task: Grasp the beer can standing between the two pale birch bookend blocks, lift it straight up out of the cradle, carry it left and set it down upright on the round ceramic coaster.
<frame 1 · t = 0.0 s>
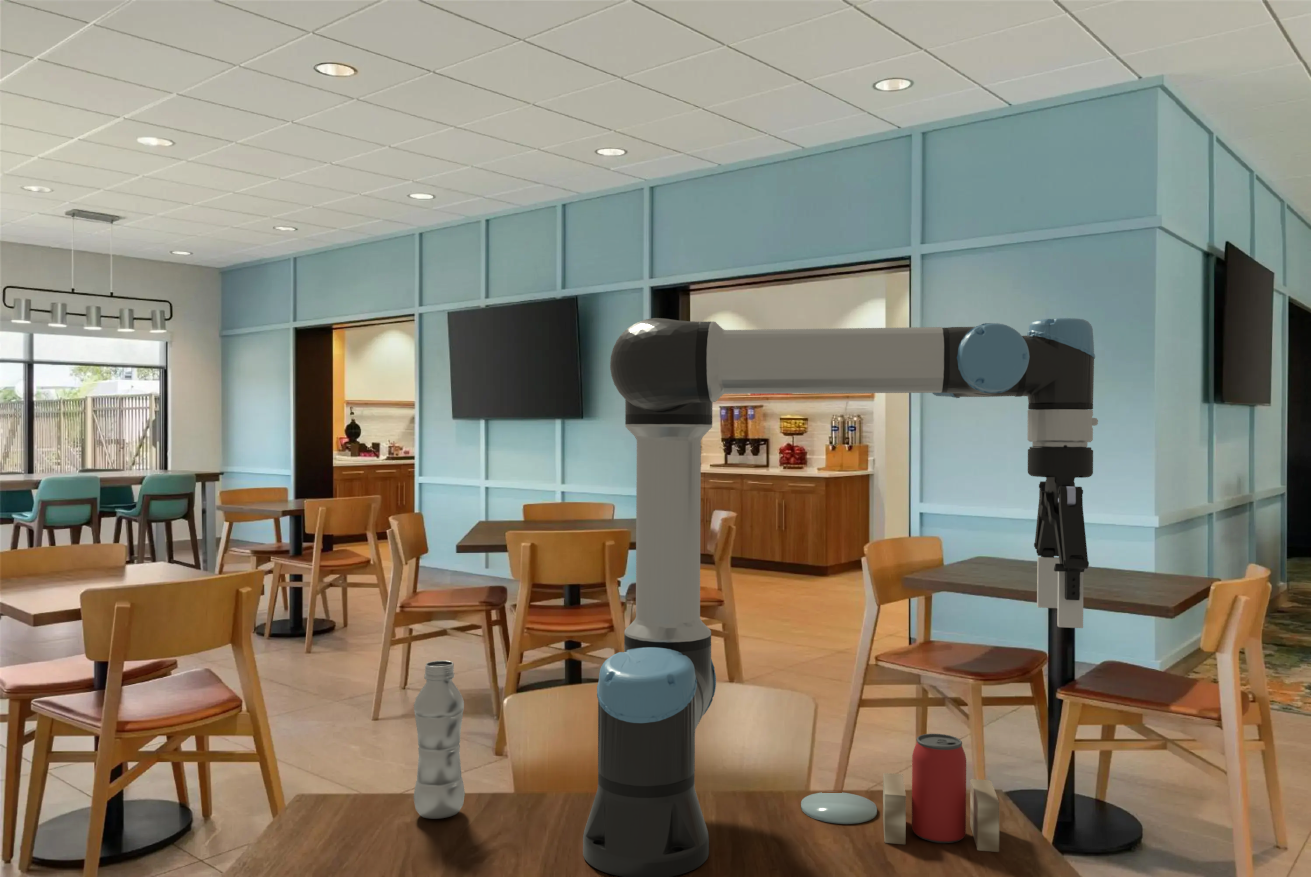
hand: (1058, 617, 126), 28 cm above the table, fingers open, 13 cm apart
coaster: (838, 809, 137), on the table
cradle: (938, 834, 128), on the table
beer can: (938, 836, 128), on the table
plastic bottle: (439, 817, 134), on the table
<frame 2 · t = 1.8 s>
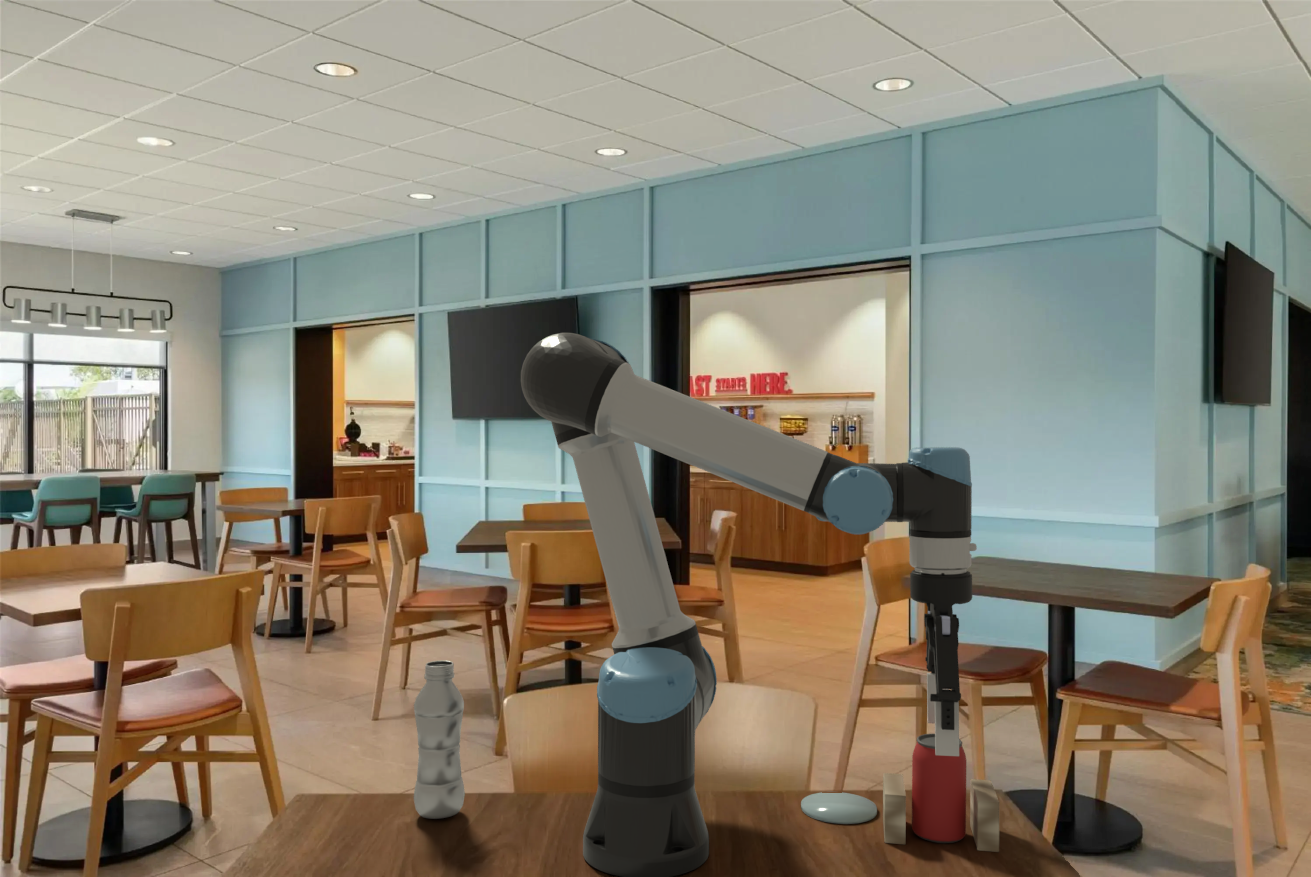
hand: (942, 738, 128), 12 cm above the table, fingers open, 13 cm apart
nothing on the table moved.
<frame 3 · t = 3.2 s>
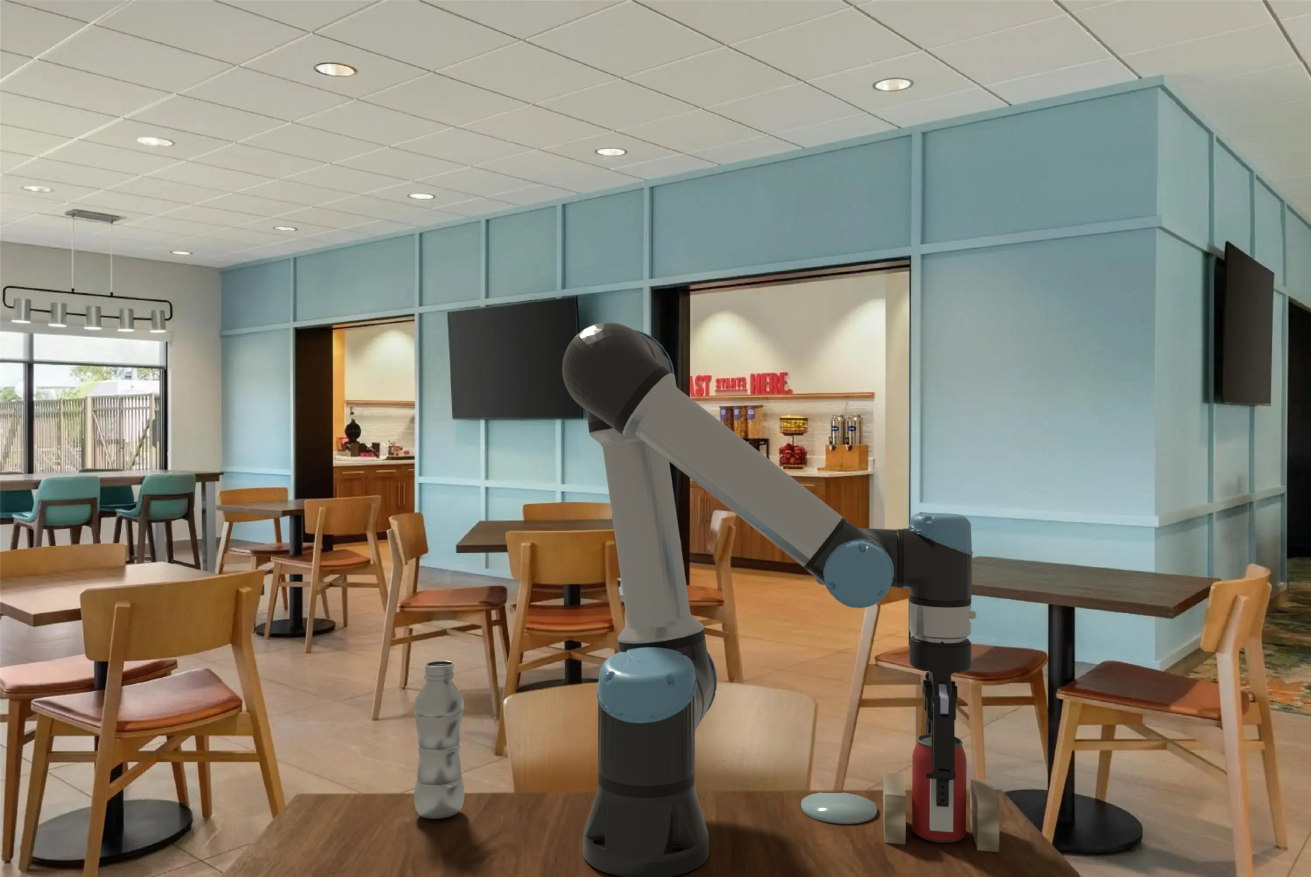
hand: (938, 818, 128), 2 cm above the table, fingers closed on beer can, 7 cm apart
beer can: (938, 836, 128), on the table, touching gripper
everything else where it was.
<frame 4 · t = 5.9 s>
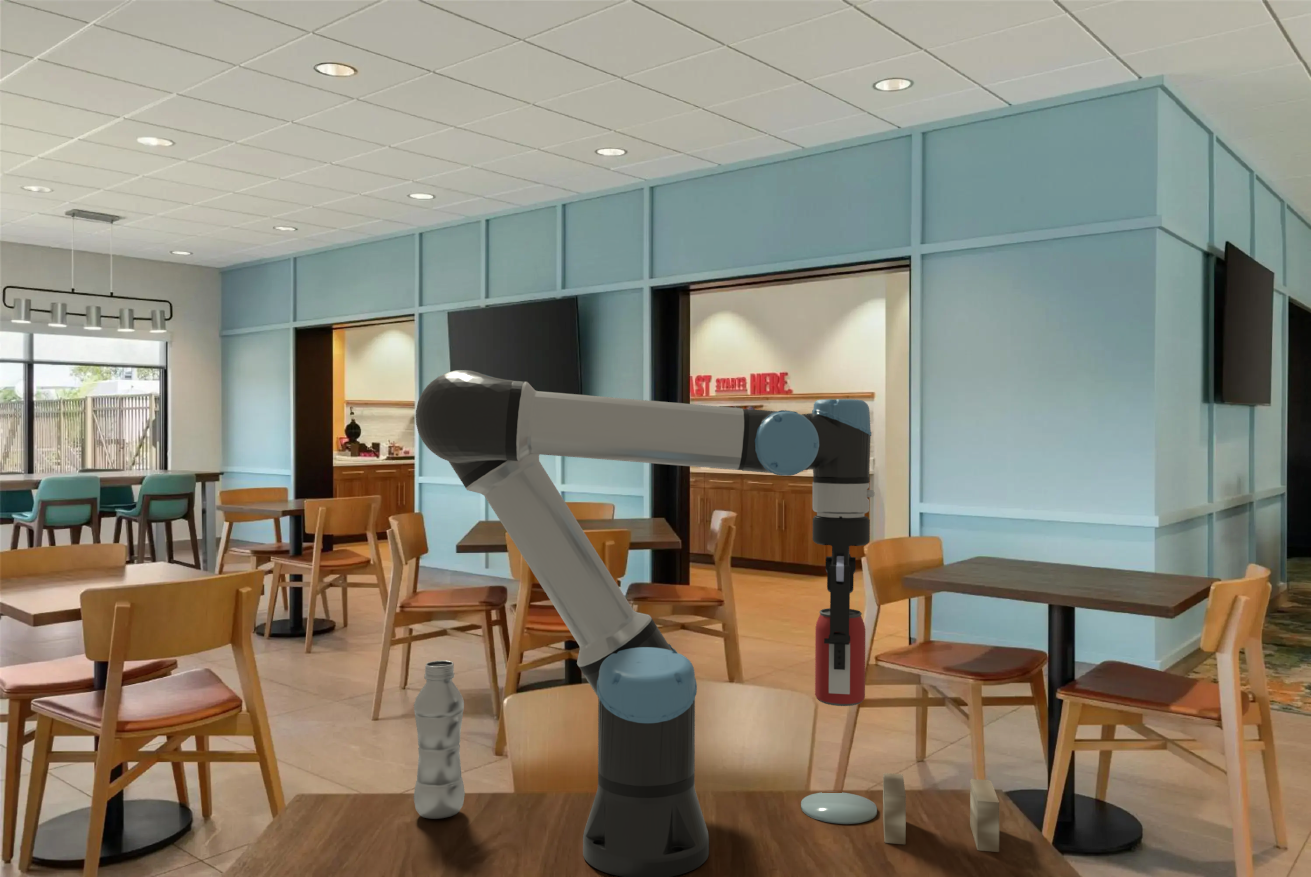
hand: (839, 685, 136), 17 cm above the table, fingers closed on beer can, 7 cm apart
beer can: (839, 702, 136), point 14 cm above the table, touching gripper
everything else where it was.
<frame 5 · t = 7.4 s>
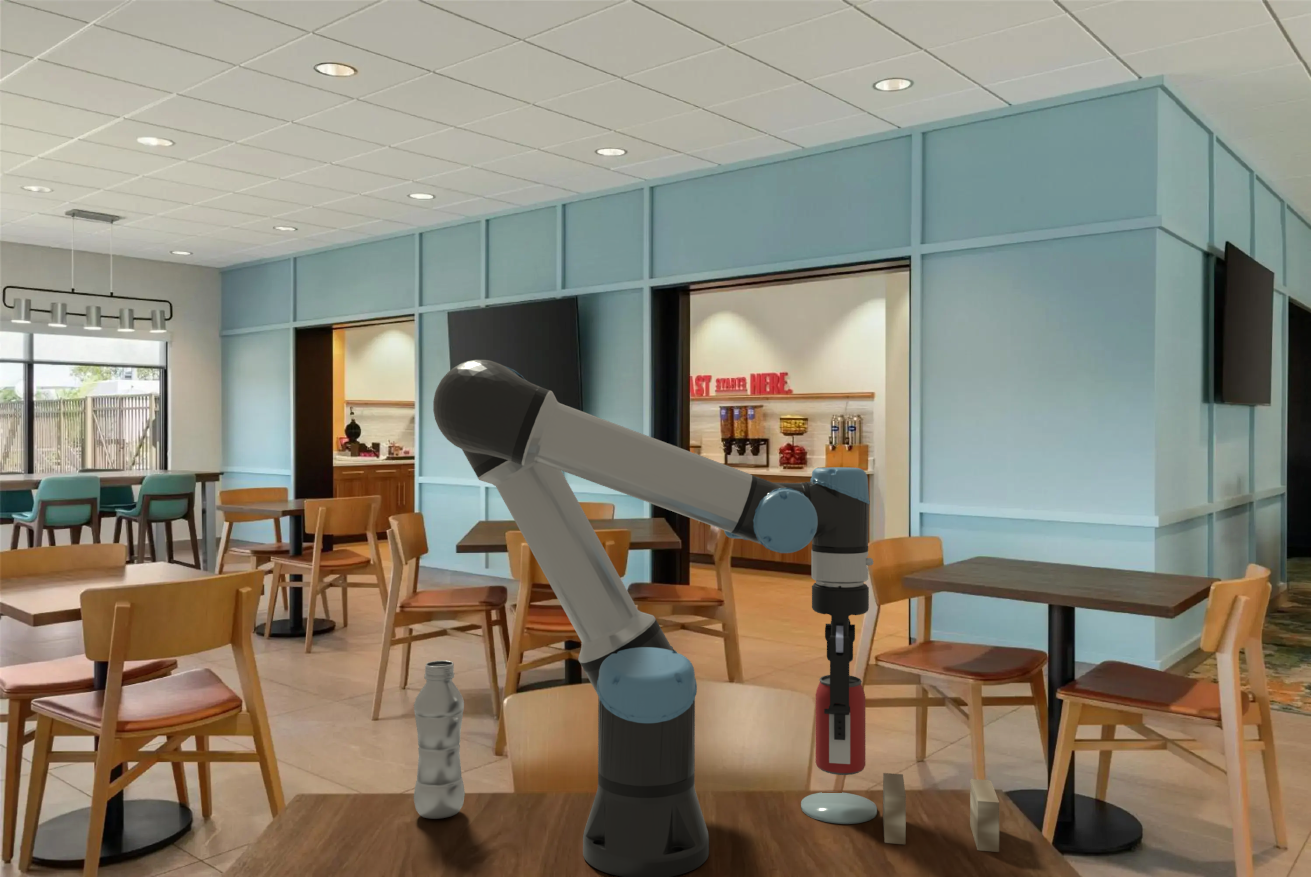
hand: (840, 753, 137), 8 cm above the table, fingers closed on beer can, 7 cm apart
beer can: (840, 770, 137), point 5 cm above the table, touching gripper
everything else where it was.
when the fingers open (4 cm above the table, at t = 8.5 s): beer can drops 2 cm, resting on coaster.
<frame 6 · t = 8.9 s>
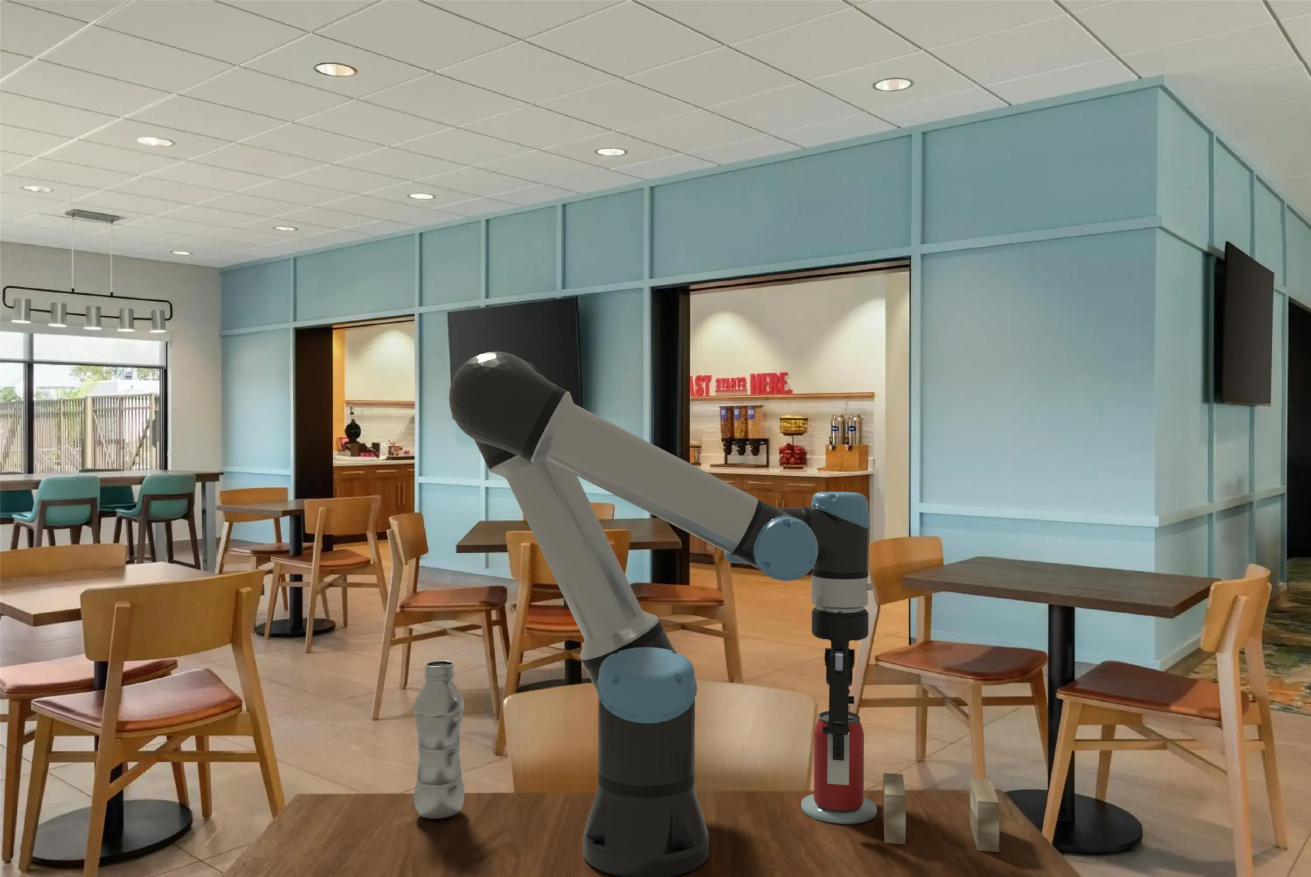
hand: (838, 767, 137), 6 cm above the table, fingers open, 12 cm apart
beer can: (838, 806, 137), resting on coaster
everything else where it was.
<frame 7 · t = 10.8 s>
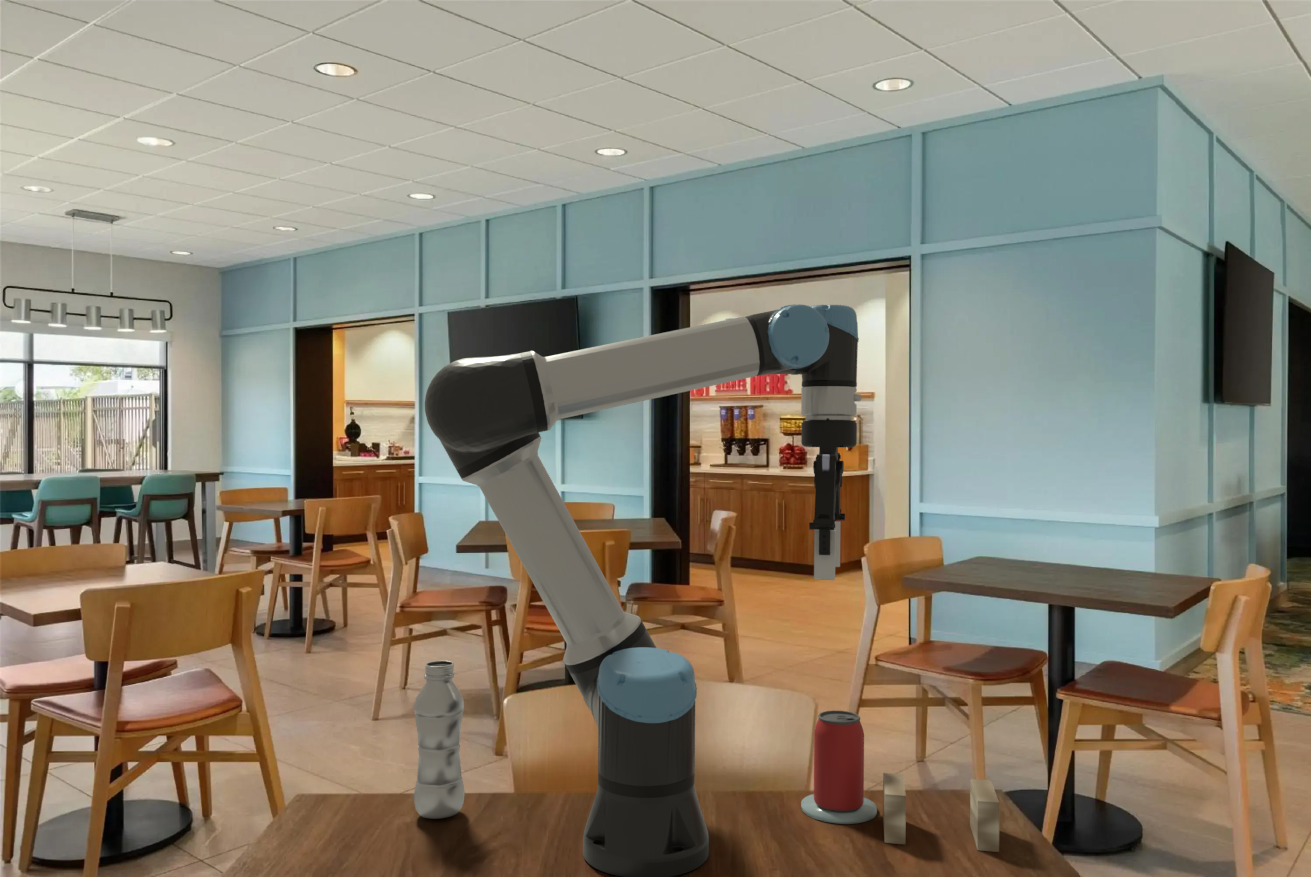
hand: (827, 573, 140), 31 cm above the table, fingers open, 13 cm apart
nothing on the table moved.
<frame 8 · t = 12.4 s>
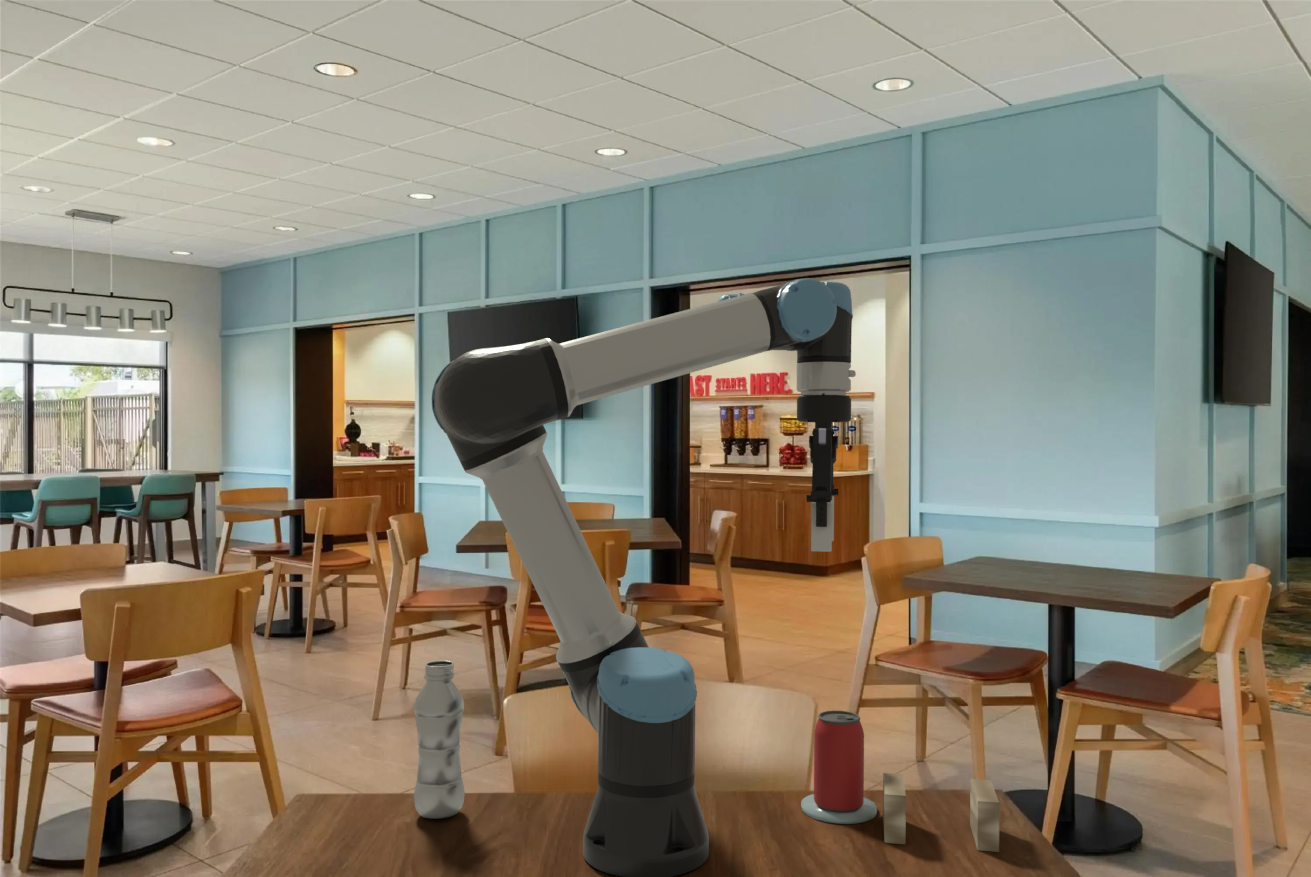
hand: (822, 546, 143), 35 cm above the table, fingers open, 13 cm apart
nothing on the table moved.
at the end: beer can 0.0 cm from the coaster (horizontally); beer can tilted 0°; beer can resting on coaster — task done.
